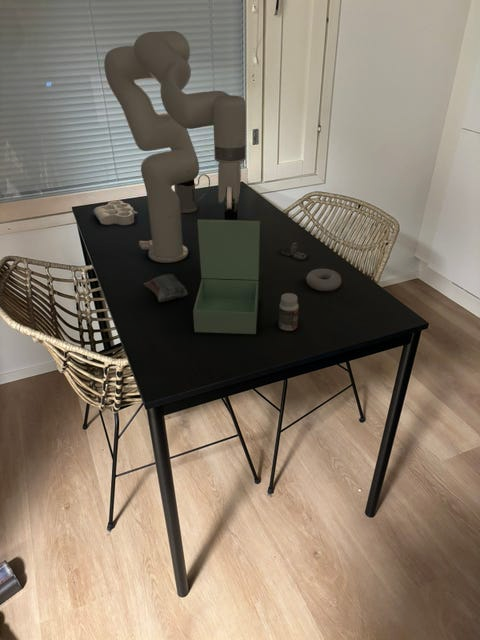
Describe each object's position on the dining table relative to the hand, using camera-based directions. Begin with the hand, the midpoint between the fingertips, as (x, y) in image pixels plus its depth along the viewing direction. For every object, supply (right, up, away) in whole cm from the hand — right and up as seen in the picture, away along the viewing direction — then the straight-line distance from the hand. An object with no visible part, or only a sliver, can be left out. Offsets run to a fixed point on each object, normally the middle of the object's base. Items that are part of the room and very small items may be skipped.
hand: (231, 225), depth 128 cm
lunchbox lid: (0, -7, -2) cm, 7 cm away
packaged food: (-18, -18, +9) cm, 27 cm away
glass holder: (-16, +19, +65) cm, 70 cm away
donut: (+26, -14, +14) cm, 33 cm away
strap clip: (+19, -4, +31) cm, 36 cm away
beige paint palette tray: (-44, +14, +58) cm, 74 cm away
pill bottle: (+14, -26, -3) cm, 30 cm away
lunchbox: (-1, -23, +1) cm, 23 cm away
